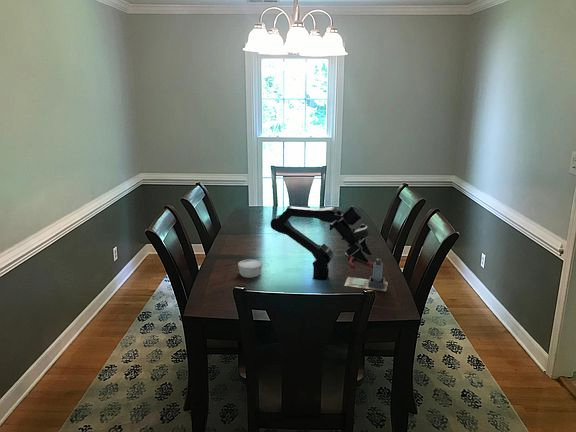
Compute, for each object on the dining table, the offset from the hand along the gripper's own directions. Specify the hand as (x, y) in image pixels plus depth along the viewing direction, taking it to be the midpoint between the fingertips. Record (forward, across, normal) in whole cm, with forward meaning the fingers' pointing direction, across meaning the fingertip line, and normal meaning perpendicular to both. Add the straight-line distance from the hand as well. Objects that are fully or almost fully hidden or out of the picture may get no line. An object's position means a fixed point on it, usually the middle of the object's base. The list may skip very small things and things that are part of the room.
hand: (369, 258), depth 200 cm
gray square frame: (+11, 0, +6) cm, 13 cm away
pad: (+6, 0, +11) cm, 13 cm away
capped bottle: (+11, 0, +6) cm, 13 cm away
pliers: (+3, +27, +16) cm, 31 cm away
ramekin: (-29, -7, +47) cm, 55 cm away
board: (+8, 0, +9) cm, 13 cm away
